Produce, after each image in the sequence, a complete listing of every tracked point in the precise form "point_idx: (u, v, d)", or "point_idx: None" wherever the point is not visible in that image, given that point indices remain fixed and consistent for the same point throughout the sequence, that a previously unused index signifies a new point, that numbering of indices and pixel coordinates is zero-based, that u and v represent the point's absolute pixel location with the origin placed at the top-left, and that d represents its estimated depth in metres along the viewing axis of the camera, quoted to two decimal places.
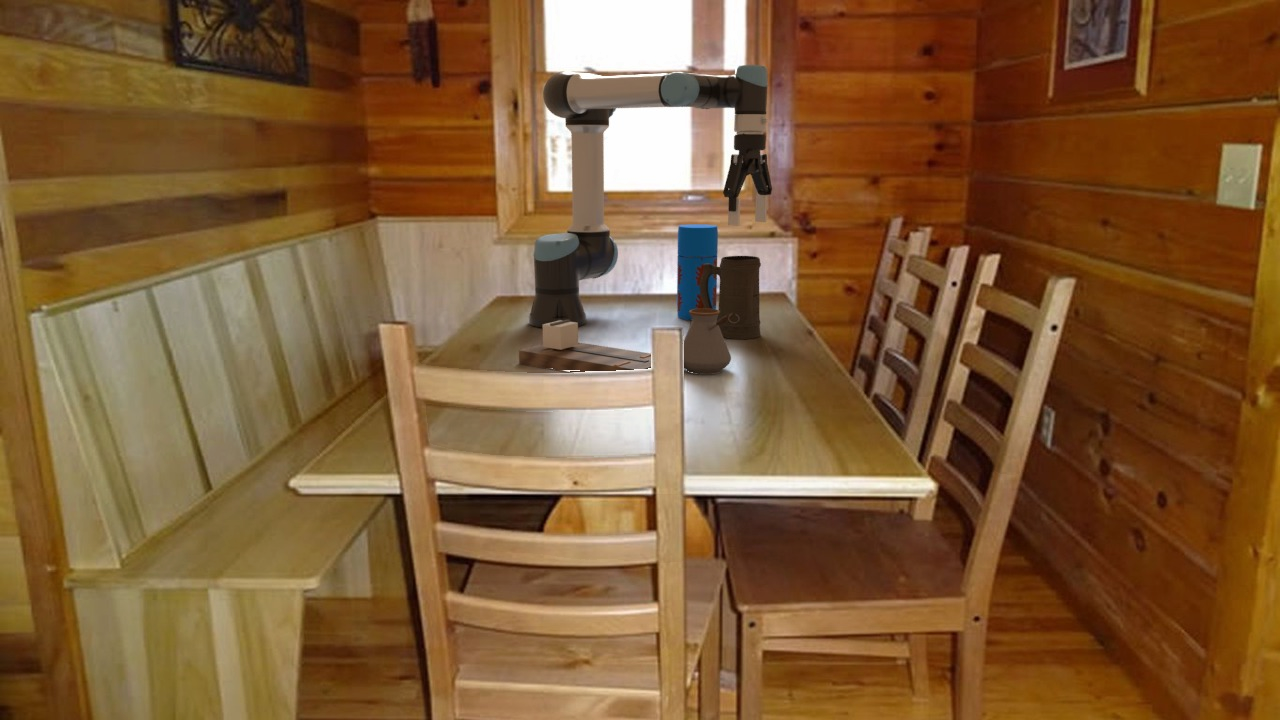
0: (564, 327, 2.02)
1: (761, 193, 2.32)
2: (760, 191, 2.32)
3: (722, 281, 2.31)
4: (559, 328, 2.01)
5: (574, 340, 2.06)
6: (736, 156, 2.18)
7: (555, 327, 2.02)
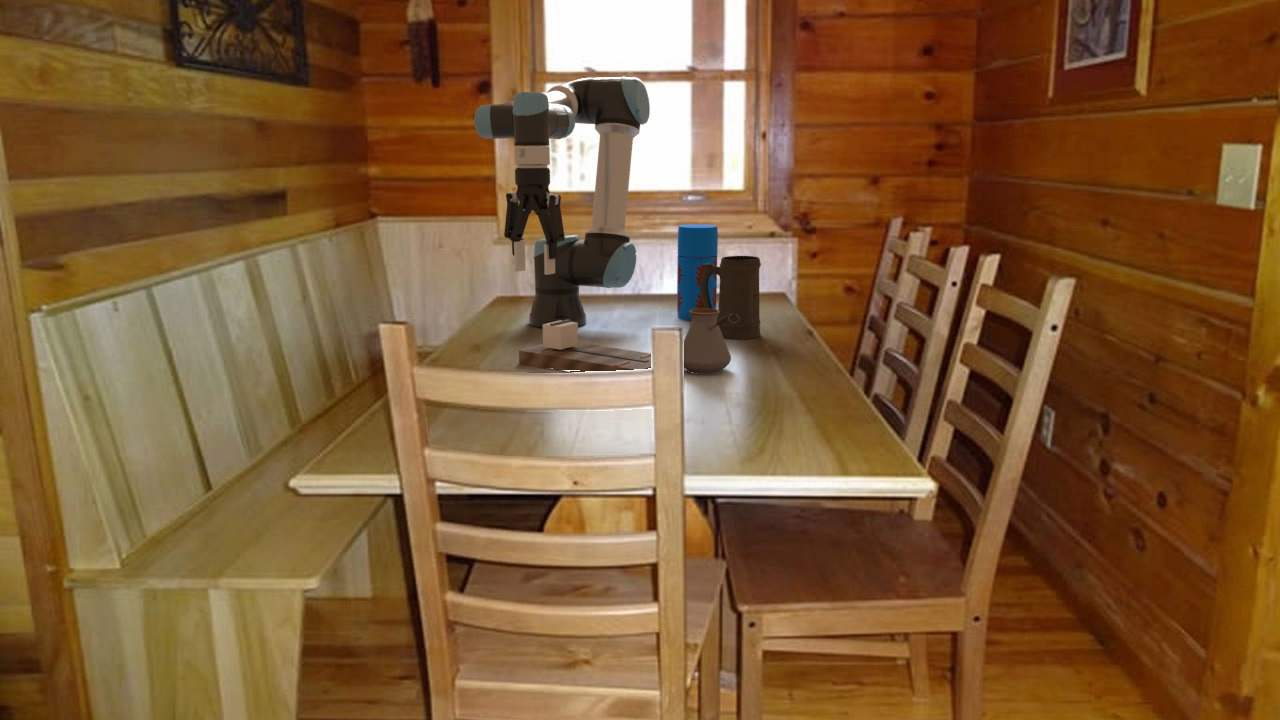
0: (564, 327, 2.02)
1: None
2: None
3: (722, 281, 2.31)
4: (559, 328, 2.01)
5: (574, 340, 2.06)
6: None
7: (555, 327, 2.02)
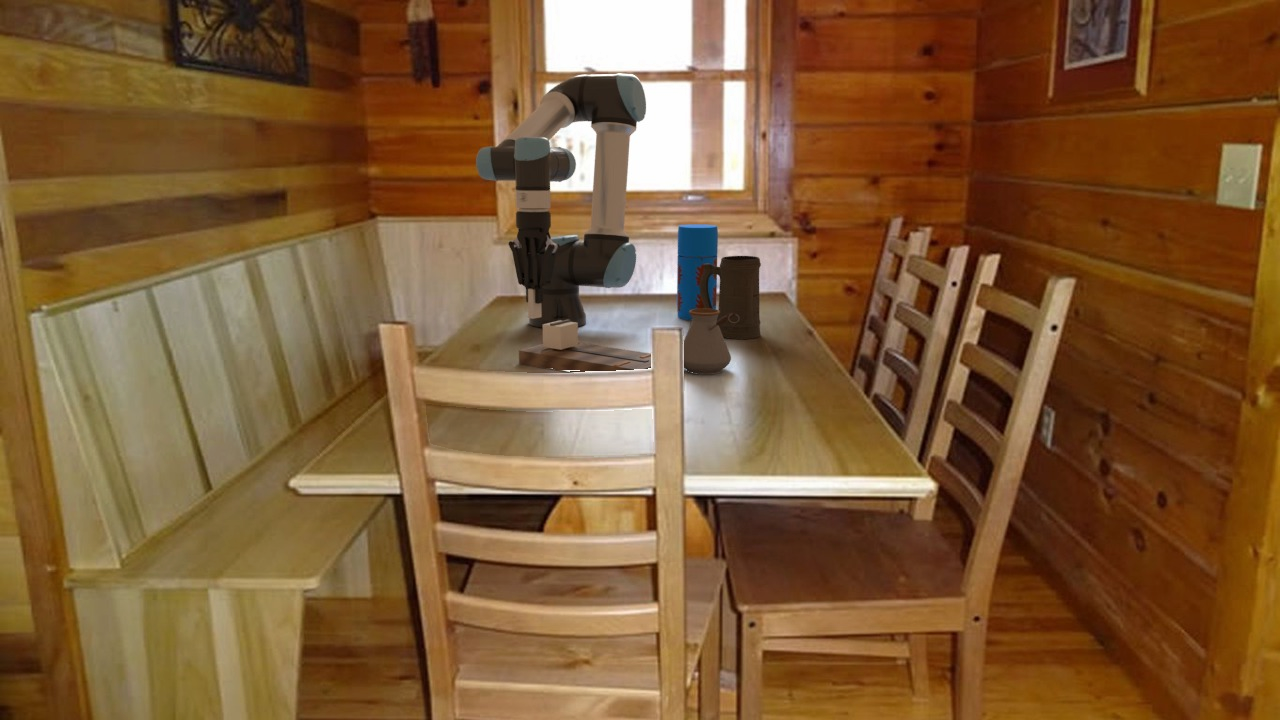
0: (564, 327, 2.02)
1: None
2: None
3: (722, 281, 2.31)
4: (559, 328, 2.01)
5: (574, 340, 2.06)
6: None
7: (555, 327, 2.02)
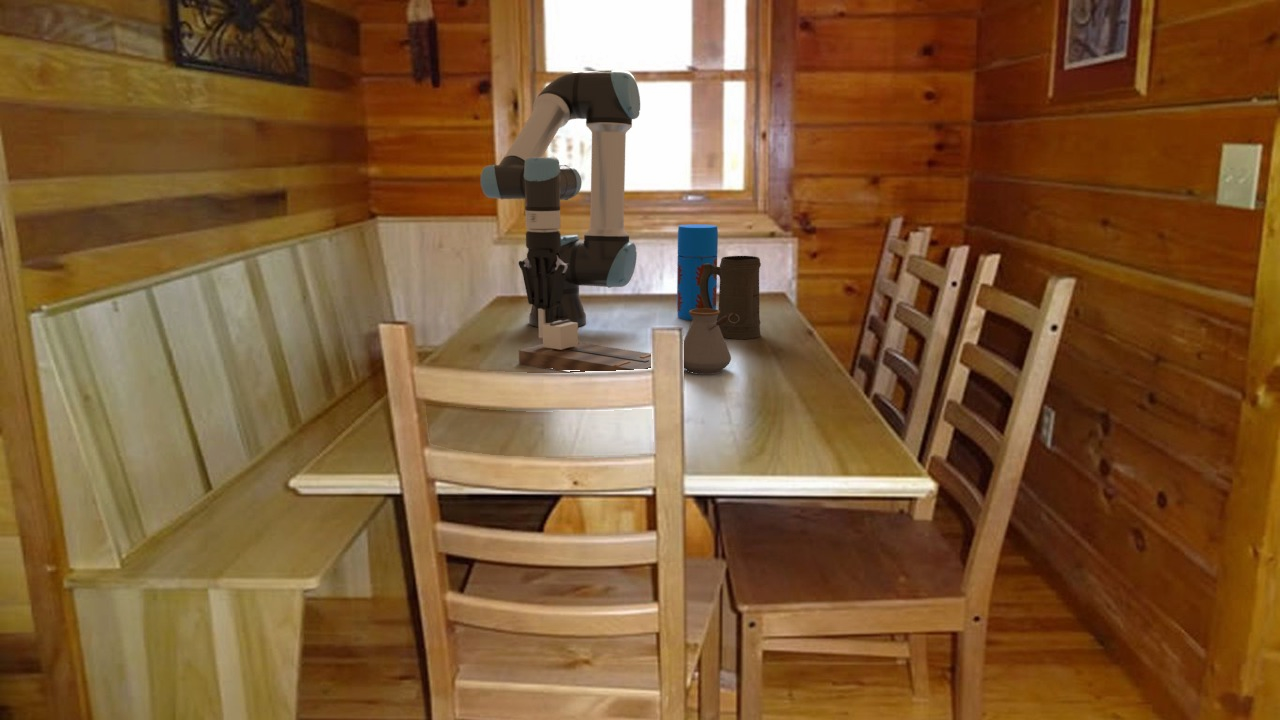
0: (564, 327, 2.02)
1: None
2: None
3: (722, 281, 2.31)
4: (559, 328, 2.01)
5: (574, 340, 2.06)
6: None
7: (555, 327, 2.02)
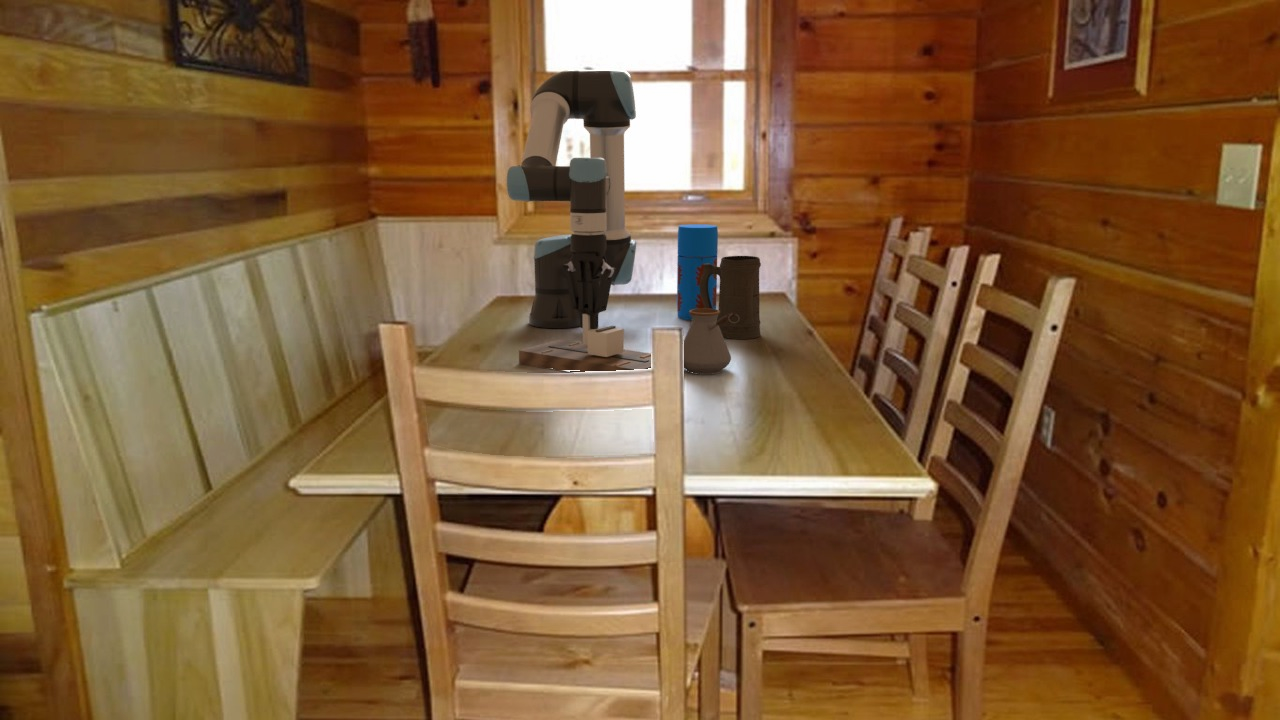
0: (610, 334, 1.96)
1: None
2: None
3: (722, 281, 2.31)
4: (605, 335, 1.95)
5: (620, 347, 1.99)
6: None
7: (601, 334, 1.95)
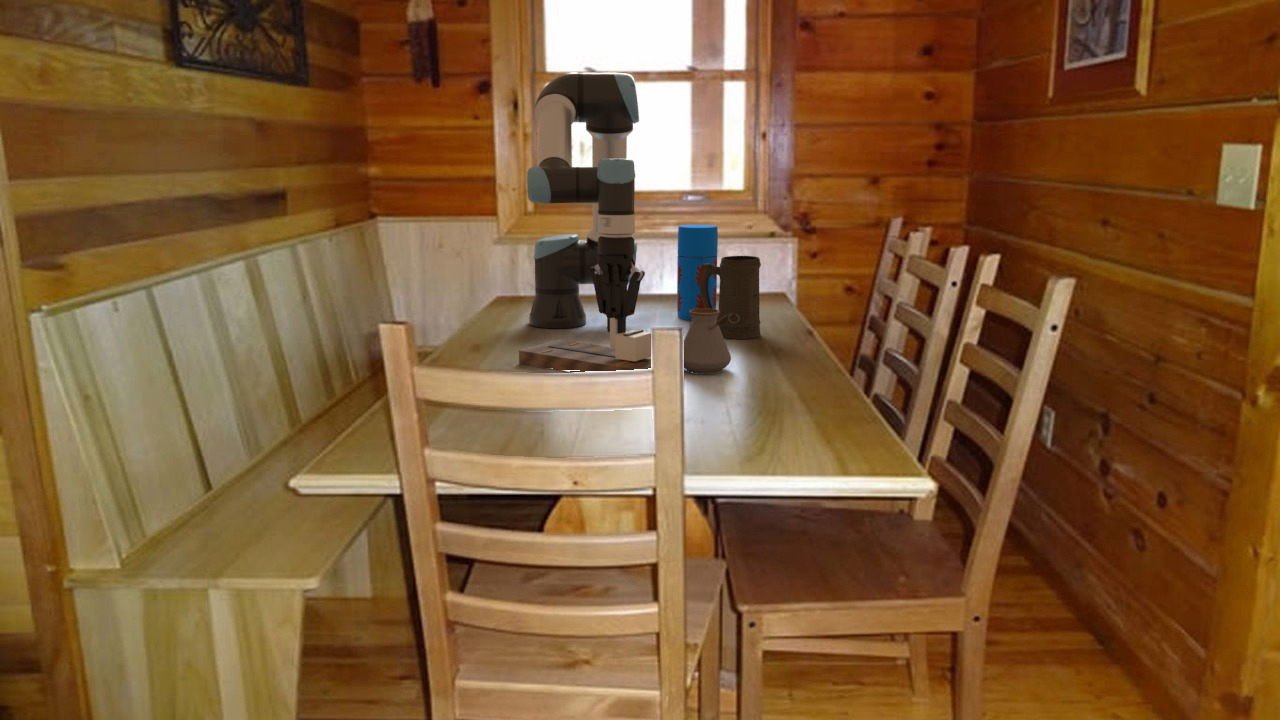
0: (639, 338, 1.92)
1: None
2: None
3: (722, 281, 2.31)
4: (634, 339, 1.91)
5: (648, 351, 1.95)
6: None
7: (629, 338, 1.91)
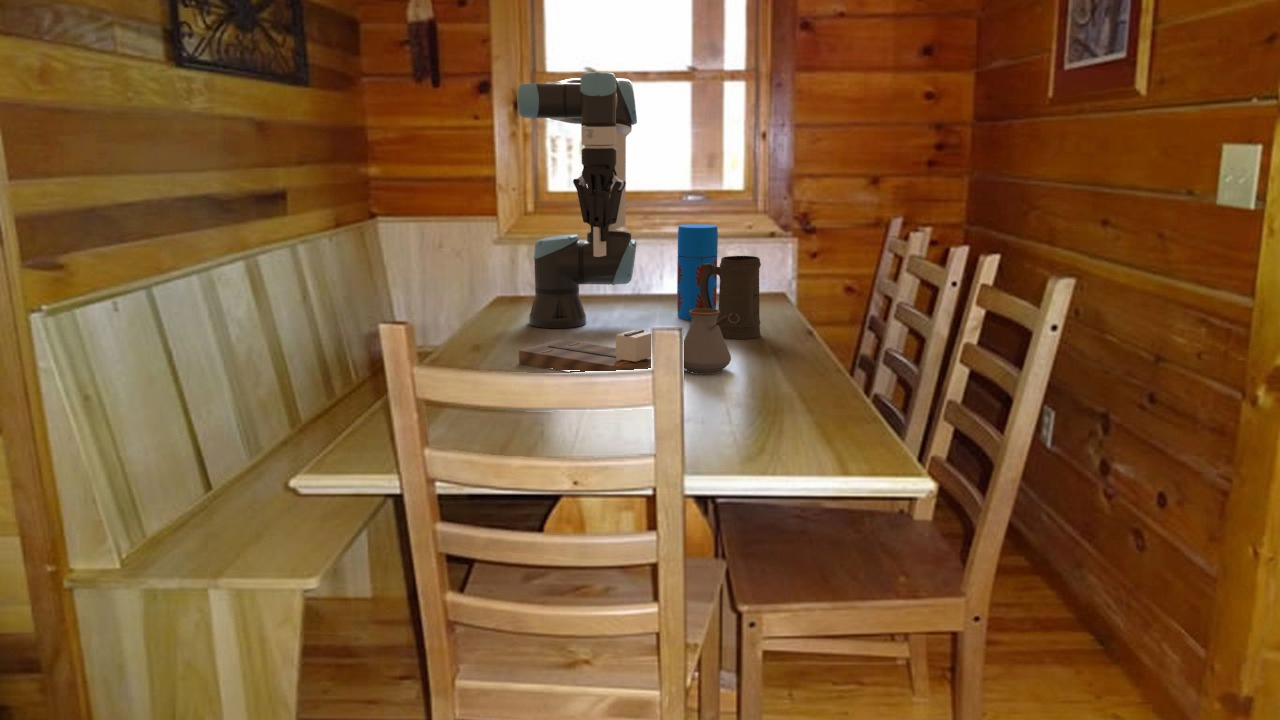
0: (639, 338, 1.91)
1: None
2: None
3: (722, 281, 2.31)
4: (634, 339, 1.91)
5: (648, 351, 1.95)
6: None
7: (630, 338, 1.91)
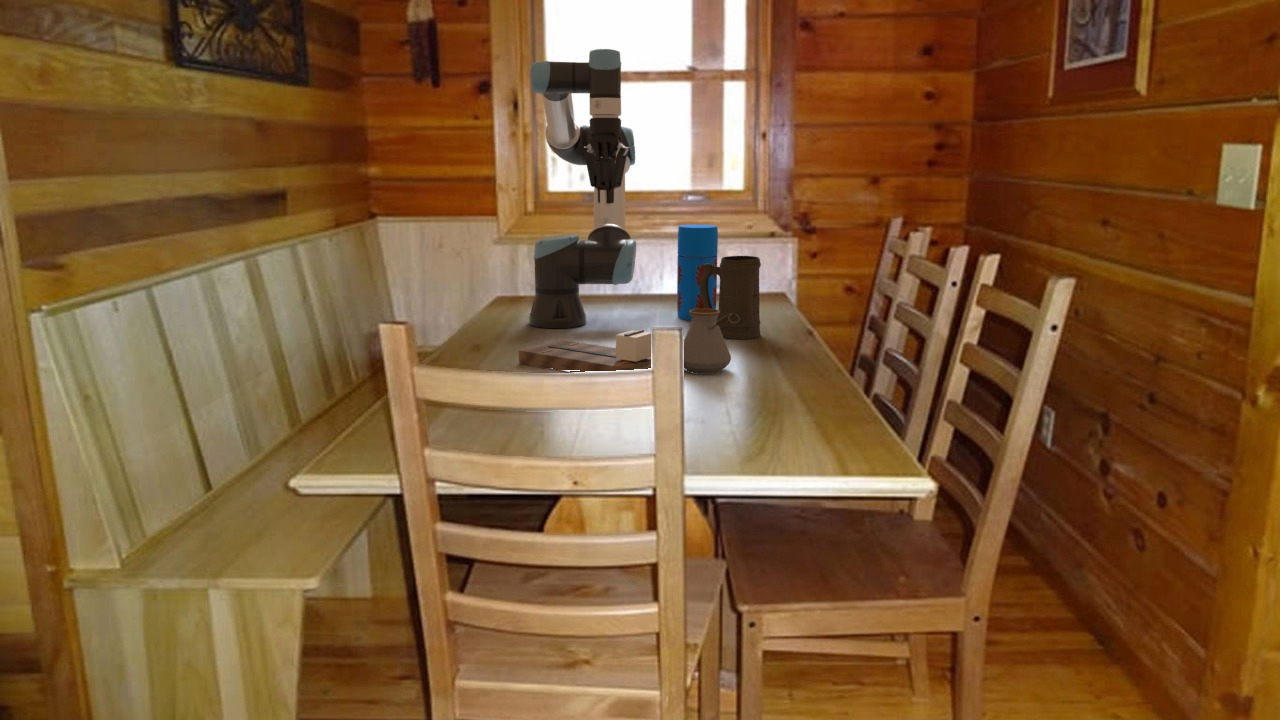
0: (639, 338, 1.91)
1: None
2: None
3: (722, 281, 2.31)
4: (634, 339, 1.91)
5: (648, 351, 1.95)
6: None
7: (630, 338, 1.91)
